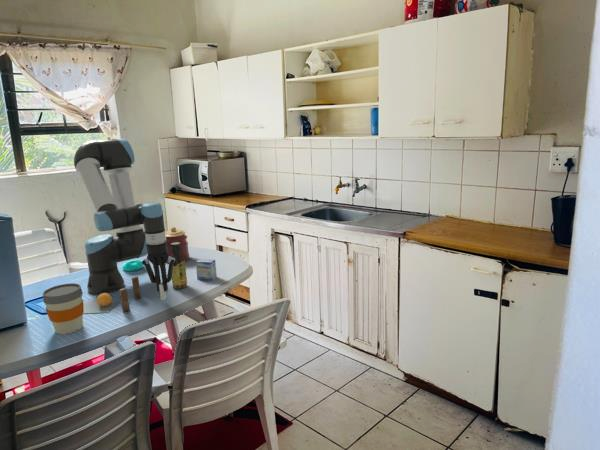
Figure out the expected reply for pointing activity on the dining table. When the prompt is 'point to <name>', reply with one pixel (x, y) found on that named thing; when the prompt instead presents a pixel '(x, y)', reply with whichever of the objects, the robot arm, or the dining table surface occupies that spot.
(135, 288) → the post
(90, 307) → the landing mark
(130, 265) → the donuts
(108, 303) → the ball
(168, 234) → the canister
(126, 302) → the post
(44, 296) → the reusable coffee cup
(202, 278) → the medicine box
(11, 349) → the dining table surface
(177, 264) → the sauce bottle
